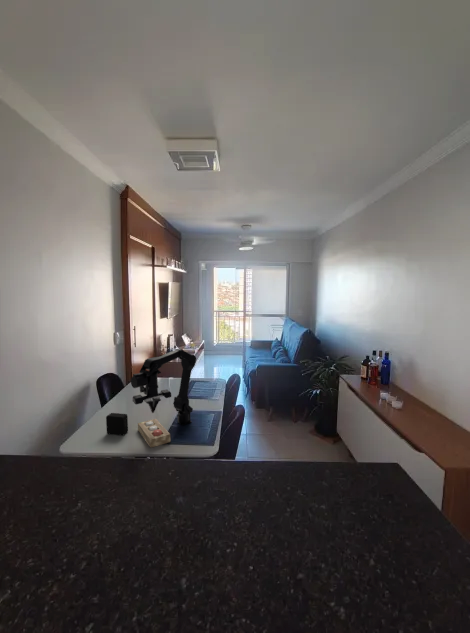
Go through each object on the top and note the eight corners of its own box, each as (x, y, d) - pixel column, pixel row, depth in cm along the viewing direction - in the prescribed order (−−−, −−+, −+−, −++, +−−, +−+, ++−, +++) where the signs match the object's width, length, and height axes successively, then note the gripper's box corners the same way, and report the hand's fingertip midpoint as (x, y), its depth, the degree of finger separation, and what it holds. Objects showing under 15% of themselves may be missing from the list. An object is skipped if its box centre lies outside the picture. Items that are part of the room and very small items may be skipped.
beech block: (156, 425, 166) (155, 418, 166) (170, 441, 148) (170, 434, 148) (138, 430, 161) (137, 423, 161) (150, 447, 143) (150, 439, 142)
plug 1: (152, 427, 163) (151, 420, 162) (154, 430, 159) (154, 423, 159) (144, 429, 160) (144, 422, 160) (147, 432, 157) (146, 425, 157)
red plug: (160, 436, 152) (159, 428, 151) (162, 439, 148) (162, 431, 148) (152, 438, 150) (152, 430, 149) (155, 441, 146) (154, 433, 146)
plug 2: (156, 432, 157) (155, 425, 157) (158, 435, 154) (158, 428, 154) (148, 434, 155) (148, 427, 155) (151, 437, 152) (150, 430, 151)
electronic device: (123, 435, 155) (123, 417, 154) (106, 434, 157) (105, 415, 156) (128, 432, 159) (127, 414, 158) (111, 430, 161) (110, 412, 160)
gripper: (163, 376, 164) (164, 404, 165) (129, 382, 154) (130, 411, 155) (171, 381, 155) (172, 410, 156) (134, 388, 145) (136, 419, 146)
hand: (152, 412), depth 153 cm, fingers closed
